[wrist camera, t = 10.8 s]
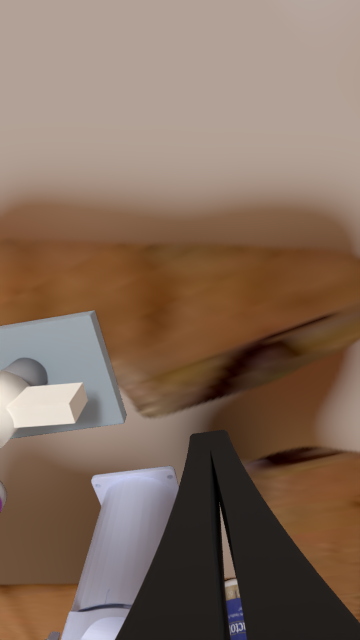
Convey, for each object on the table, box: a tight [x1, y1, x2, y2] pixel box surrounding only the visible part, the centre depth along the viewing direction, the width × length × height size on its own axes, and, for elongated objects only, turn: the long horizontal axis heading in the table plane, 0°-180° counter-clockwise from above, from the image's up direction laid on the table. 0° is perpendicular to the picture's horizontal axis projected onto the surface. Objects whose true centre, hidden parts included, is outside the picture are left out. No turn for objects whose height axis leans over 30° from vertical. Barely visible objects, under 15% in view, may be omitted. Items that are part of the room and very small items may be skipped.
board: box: [0, 310, 126, 439], centre depth 17 cm, size 10×12×6 cm
